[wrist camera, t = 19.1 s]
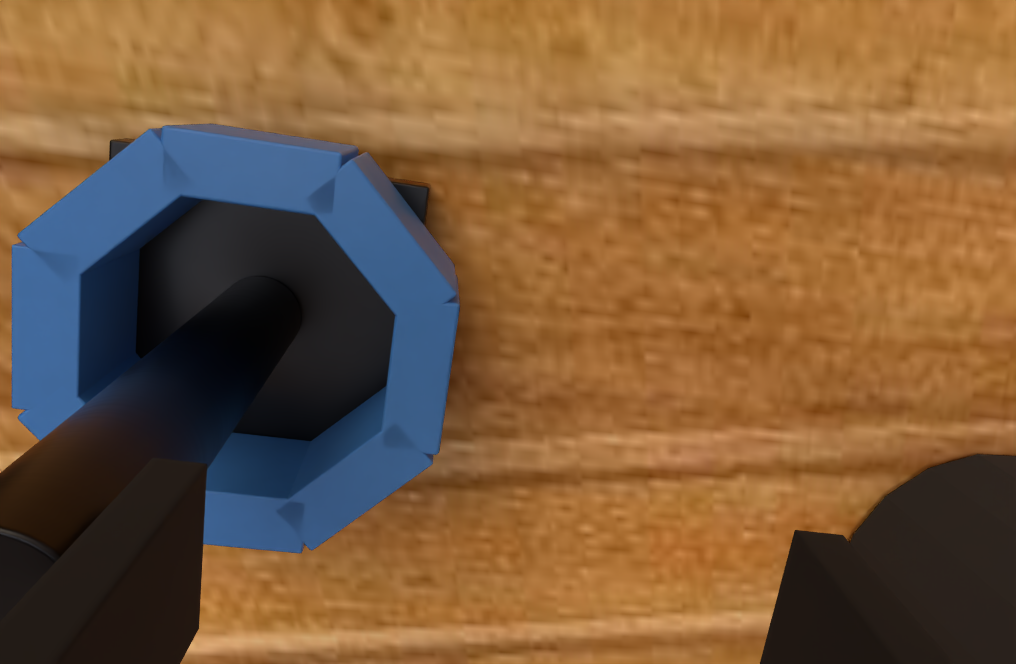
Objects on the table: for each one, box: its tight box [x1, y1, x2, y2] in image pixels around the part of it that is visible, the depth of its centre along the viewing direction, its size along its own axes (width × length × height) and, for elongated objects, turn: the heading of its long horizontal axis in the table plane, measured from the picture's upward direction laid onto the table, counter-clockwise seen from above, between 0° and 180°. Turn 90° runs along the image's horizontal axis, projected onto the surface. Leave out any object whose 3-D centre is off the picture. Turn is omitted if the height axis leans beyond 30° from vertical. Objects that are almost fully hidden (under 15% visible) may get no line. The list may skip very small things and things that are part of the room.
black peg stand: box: [0, 139, 430, 621], centre depth 17 cm, size 9×9×16 cm
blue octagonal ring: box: [12, 124, 460, 553], centre depth 22 cm, size 11×11×4 cm
